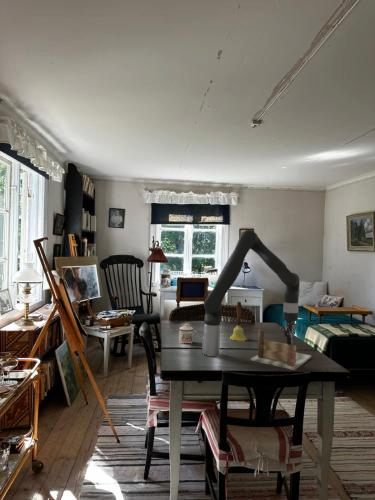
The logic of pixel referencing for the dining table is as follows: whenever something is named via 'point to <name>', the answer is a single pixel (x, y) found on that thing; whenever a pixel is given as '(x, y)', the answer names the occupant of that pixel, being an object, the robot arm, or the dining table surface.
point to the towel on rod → (289, 364)
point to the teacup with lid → (186, 334)
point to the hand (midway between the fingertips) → (290, 343)
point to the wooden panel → (278, 350)
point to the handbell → (238, 326)
